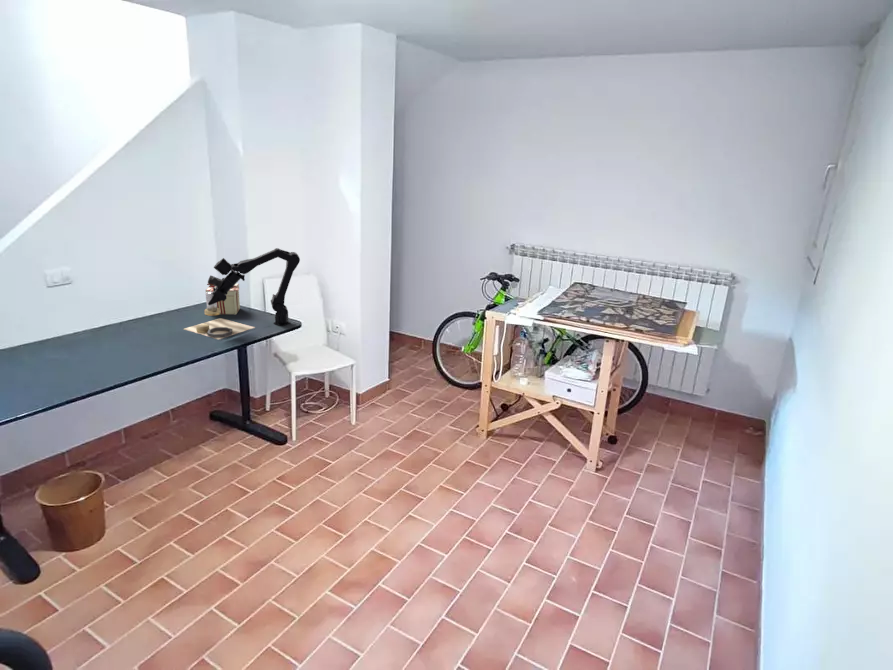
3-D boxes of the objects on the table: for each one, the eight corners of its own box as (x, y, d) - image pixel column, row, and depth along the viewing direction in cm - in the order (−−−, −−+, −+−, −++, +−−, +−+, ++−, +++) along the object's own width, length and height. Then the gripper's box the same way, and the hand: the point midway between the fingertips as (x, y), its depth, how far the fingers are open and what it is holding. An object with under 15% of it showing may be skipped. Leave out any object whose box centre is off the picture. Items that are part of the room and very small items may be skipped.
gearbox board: (220, 319, 300) (220, 313, 299) (255, 329, 288) (254, 322, 287) (183, 330, 281) (182, 324, 279) (218, 341, 269) (218, 334, 268)
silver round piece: (213, 310, 289) (211, 290, 285) (223, 313, 286) (222, 292, 282) (201, 313, 283) (199, 293, 279) (211, 316, 279) (209, 295, 276)
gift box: (206, 318, 301) (203, 287, 295) (211, 308, 318) (208, 279, 312) (240, 317, 305) (237, 287, 300) (243, 307, 322) (240, 278, 316)
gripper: (216, 266, 286) (195, 288, 286) (217, 274, 270) (194, 297, 270) (234, 280, 292) (213, 302, 292) (235, 289, 276) (213, 312, 275)
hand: (208, 303), depth 282 cm, fingers closed on silver round piece, 5 cm apart
